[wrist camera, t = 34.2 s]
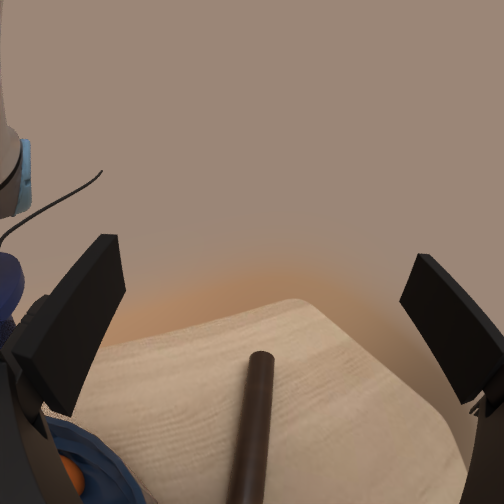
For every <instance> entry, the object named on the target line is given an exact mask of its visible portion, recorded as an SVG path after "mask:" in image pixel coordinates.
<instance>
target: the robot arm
mask: <svg viewBox="0 0 504 504" xmlns="http://www.w3.org/2000/svg"><path fill="white" fill-rule="evenodd" d="M2 7H3V0H0V32H1V17H2ZM0 34H1V33H0ZM102 172H103V170H101V172H100V173H99V174H98V175H97V176H96V177H95V178H94V179H92V180H91V181H89V182H88V183H87V184H85V185H83V186H82V187H80V188H78V189H77V190H75V191H73V192H71V193H69V194H68V195H66V196H64V197H62V198H60V199H58V200H56V201H55V202H53V203H51V204H49V205H47V206H46V207H44V208H42V209H40V210H39V211H37V212H35V213H34V214H32V215H30V216H29V217H27V218H26V219H24V220H23V221H21V222H20V223H18V224H17V225H15V226H14V227H12V228H11V229H9V230H8V231H7V232H6V233H5V234H3V236H2V237H1V238H0V247H1V244H2V242H3V240H4V238H6V236H8V235H9V234H10V233H11V232H12V231H14V230H15V229H17V228H18V227H20V226H21V225H23V224H24V223H25V222H27V221H29V220H30V219H32V218H33V217H35V216H36V215H38V214H40V213H41V212H43V211H45V210H46V209H48V208H50V207H52V206H54V205H55V204H57V203H59V202H61V201H63V200H64V199H66V198H68V197H70V196H71V195H73V194H75V193H77V192H78V191H80V190H82V189H83V188H85V187H87V186H88V185H89V184H91V183H92V182H94V181H95V180H96V179H97V178H98V177H99V176H100V175H101V173H102ZM31 197H32V195H31V161H30V141H29V140H28V139H20V140H19V136H18V134H17V133H16V131H15V130H14V129H12V128H11V127H9V126H7V123H6V117H5V110H4V102H3V93H2V83H1V64H0V219H2V218H6V217H9V216H11V217H14V216H16V214H19V213H22V212H25V211H27V210H28V209H29V208H30V206H31V203H32V198H31ZM125 292H126V288H125V283H124V277H123V271H122V265H121V258H120V251H119V244H118V236H117V235H113V234H101V235H100V236H99V237H98V238H97V239H96V240H95V241H94V242H93V244H92V245H91V246H90V247H89V248H88V249H87V250H86V251H85V253H84V254H83V255H82V256H81V257H80V258H79V259H78V261H77V262H76V263H75V264H74V265H73V266H72V268H71V269H70V270H69V271H68V273H67V274H66V275H65V276H64V277H63V279H62V280H61V281H60V282H59V284H58V285H57V286H56V288H55V289H54V290H53V291H52V293H51V294H50V295H44V296H42V297H41V298H39V299H38V300H37V301H35V302H34V303H33V305H32V306H31V307H30V309H29V310H28V311H27V314H26V315H24V317H23V318H22V319H21V323H19V324H18V325H17V326H16V328H15V329H14V331H13V332H12V334H11V335H10V337H9V338H8V340H7V341H6V343H5V344H4V346H3V347H2V349H1V350H0V504H84V503H83V502H82V500H81V498H80V496H79V494H78V493H77V491H76V489H75V487H74V485H73V483H72V481H71V479H70V477H69V475H68V473H67V471H66V469H65V466H64V464H63V462H62V460H61V458H60V455H59V453H58V450H57V448H56V446H55V443H54V440H53V438H52V435H51V432H50V430H49V427H48V424H47V421H46V418H45V415H44V413H43V411H42V409H41V406H42V404H43V401H44V402H45V403H46V404H47V406H48V407H49V408H50V409H51V411H54V412H57V413H59V414H62V415H65V416H68V417H71V416H72V413H73V410H74V408H75V405H76V402H77V399H78V397H79V394H80V392H81V389H82V386H83V384H84V381H85V379H86V376H87V374H88V372H89V369H90V367H91V364H92V362H93V360H94V357H95V355H96V353H97V350H98V348H99V346H100V344H101V341H102V339H103V337H104V335H105V333H106V330H107V328H108V326H109V324H110V322H111V320H112V317H113V316H114V314H115V312H116V310H117V308H118V305H119V304H120V302H121V300H122V298H123V296H124V294H125ZM399 302H400V303H401V305H402V306H403V308H404V309H405V311H406V312H407V314H408V315H409V317H410V318H411V320H412V321H413V323H414V324H415V326H416V327H417V329H418V330H419V332H420V334H421V335H422V337H423V338H424V340H425V342H426V343H427V345H428V346H429V348H430V349H431V351H432V353H433V355H434V356H435V358H436V360H437V361H438V363H439V365H440V366H441V368H442V370H443V372H444V373H445V375H446V377H447V379H448V381H449V382H450V384H451V386H452V388H453V390H454V392H455V393H456V395H457V397H458V399H459V401H460V403H461V405H462V404H465V403H467V402H470V401H472V400H474V399H475V398H476V396H477V395H478V394H479V393H480V392H481V391H482V390H483V391H484V393H485V395H484V396H483V397H482V398H481V399H480V400H479V401H478V402H477V403H476V404H475V405H474V406H473V408H472V409H471V410H470V412H469V414H472V413H473V411H475V410H476V409H477V408H479V409H478V410H477V411H476V413H475V414H474V416H477V417H478V424H477V431H476V437H475V444H474V449H473V454H472V459H471V463H470V467H469V472H468V476H467V479H466V483H465V487H464V490H463V493H462V497H461V500H460V503H459V504H504V336H503V335H502V334H501V332H500V331H499V330H498V329H497V328H496V326H495V325H494V324H493V322H492V321H491V320H490V319H489V318H488V316H487V315H486V314H485V313H484V312H483V311H482V309H481V308H480V307H479V306H478V305H477V304H476V303H475V301H474V300H473V299H472V298H471V297H470V296H469V295H468V294H467V292H466V291H465V290H464V289H463V288H462V287H461V286H460V285H459V284H458V283H457V282H456V281H455V280H454V279H453V278H452V277H451V275H450V274H449V273H447V271H446V270H445V269H444V268H443V267H442V266H440V264H439V263H438V262H437V261H436V260H435V259H433V257H431V256H430V255H429V254H419V253H418V254H417V258H416V260H415V263H414V265H413V268H412V271H411V273H410V276H409V279H408V281H407V284H406V286H405V289H404V291H403V293H402V296H401V298H400V301H399Z"/></svg>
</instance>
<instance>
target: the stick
mask: <svg viewBox="0 0 504 504" xmlns="http://www.w3.org/2000/svg"><path fill="white" fill-rule="evenodd" d="M274 361H275V359H274V357H273V355H272V354H270V353H268V352H265V351H257V352H254V353H252V354H251V356H250V358H249V365H248V371H247V378H246V385H245V391H244V398H243V405H242V411H241V417H240V424H239V430H238V437H237V443H236V449H235V456H234V462H233V468H232V474H231V480H230V486H229V492H228V498H227V504H263V497H264V487H265V477H266V467H267V456H268V444H269V432H270V420H271V406H272V392H273V377H274Z"/></svg>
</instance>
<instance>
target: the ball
mask: <svg viewBox="0 0 504 504" xmlns="http://www.w3.org/2000/svg"><path fill="white" fill-rule="evenodd" d="M60 458H61V460H62V462H63V464H64V466H65V469H66V471H67V473H68V475H69V477H70V479H71V481H72V483H73V485H74V487H75V489H76V491H77V493H78V494H79V496H80V495H81V494H82V493H83V491H84V488H85V479H84V476H83V473H82V472H81V470H80V468H79V467H78V466H77V465H76V464H75V463H74V462H73V461H72V460H70V459H69V458H67V457H65V456H63V455H60Z"/></svg>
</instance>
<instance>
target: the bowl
mask: <svg viewBox="0 0 504 504" xmlns="http://www.w3.org/2000/svg"><path fill="white" fill-rule="evenodd" d="M45 418H46V421H47V424H48V427H49V430H50V432H51V435H52V438H53V440H54V443H55V446H56V448H57V450H58V453H59V455H63V456H65V457H67V458H69V459H70V460H72V461H73V462H74V463H75V464H76V465H77V466H78V467H79V468H80V470H81V472H82V473H83V476H84V479H85V488H84V491H83V493H82V494H81V495H80V498H81V500H82V502H83V503H84V504H158V502H157V500H156V499H155V498H154V497H153V495H152V494H151V493H150V492H149V490H148V489H147V488H146V486H145V485H144V484H143V482H142V481H141V480H140V479H139V478H138V477H137V476H136V474H135V473H134V472H133V471H132V470H131V469H130V468H129V467H128V466H127V465H126V464H125V463H124V462H123V460H122V459H121V458H120V457H119V456H117V455H116V454H115V453H114V452H113V451H112V450H111V449H110V448H108V447H107V446H106V445H105V444H104V443H103V442H102V441H101V440H100V439H99V438H98V437H96V436H95V435H93V434H91V433H89V432H87V431H85V430H84V429H82V428H80V427H78V426H77V425H75V424H73V423H71V422H68V421H64V420H60V419H56V418H52V417H49V416H45Z"/></svg>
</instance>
